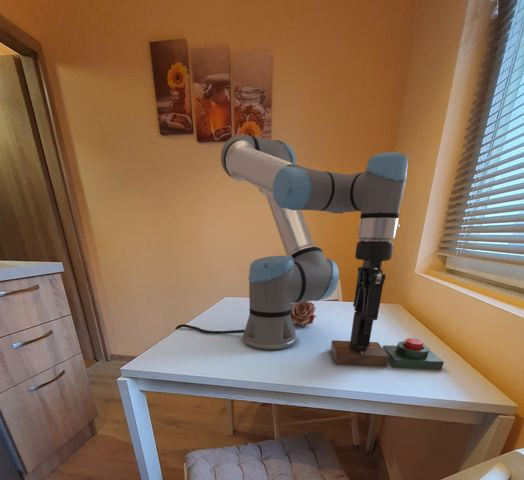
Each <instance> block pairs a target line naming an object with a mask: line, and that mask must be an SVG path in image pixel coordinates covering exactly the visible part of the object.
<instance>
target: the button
mask: <svg viewBox="0 0 524 480" xmlns="http://www.w3.org/2000/svg"><path fill="white" fill-rule="evenodd" d="M404 341H405V344H404V347H406V348H408V349H413V350H422V348H423V345H425V344H424V343H425V342H424V341H422V340H421V339H418V338H409V337H408V338H406V339H404Z"/></svg>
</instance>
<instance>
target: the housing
mask: <svg viewBox="0 0 524 480" xmlns="http://www.w3.org/2000/svg"><path fill="white" fill-rule="evenodd" d="M404 344H405V340H402V341H399V342H397V345H385V344H384V345H383V346H382V348H383V349H384V351H385V352H386V353H387V354H388V356H389V358H388V363H389V365H391V367H392V368H393V369H412V370H413V369H414V370H429V371H430V370H431V371H432V370H434V371H442V370H443V366H444V363H445V361H444V360H443V359H442V358H440V357H439V356H438V355H437V354H435V353H434V352H433V351H432V350H431V349H430V347H428V346H427V345H425V344H423V348H422V350H413V349H408V348H406V347H404Z"/></svg>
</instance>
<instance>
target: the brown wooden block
mask: <svg viewBox="0 0 524 480" xmlns="http://www.w3.org/2000/svg"><path fill="white" fill-rule="evenodd" d="M330 352H331V356H332V359H333V361H334V364H335V366H349V367H350V366H351V367H369V368H370V367H371V368H372V367H373V368H374V367H375V368H387V367H388V363H389V362H388V358H389V356H388V354H387V353H386V352H385V351H384V349H383V346H381V344H380V343H379V342H378V341H370V342H369V347H368V349H367V350H365V351H358V350H354V349H351V348H350V340H335V339H333V340H331V344H330Z"/></svg>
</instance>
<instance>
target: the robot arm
mask: <svg viewBox="0 0 524 480" xmlns="http://www.w3.org/2000/svg"><path fill="white" fill-rule="evenodd" d="M294 151H295V150H294V149H293V148H292V146H291V145H290V144H288V143H287V142H283V141H281V140H279V139H268V138H264V137H259V136H253V135H248V134H238V135H234V136H232V137H230V138H229V139H228V140H226V141H225V143H224V145H223V146H222V148H221V152H220V163H221V167H222V169H223V170H224V172H225V173H226V175H228V176H229V177H230V178H232V179H234V180H235V181H237V182H247V183H249V184H251V185H252V186H254V187H256V188H258V191H259V193H260V194H261V195H262V196H265V197H266V200H267V203H268V205H269V209H270V211H271V215H272V217H273V221H274V222H275V226H276V228H277V232H278V234H279V237H280V241H281V243H282V246H283V249H284V252H285V254H286V255H272V256H271V255H269V256H264V257H260V258H257V259H255V260H253V261H252V262H251V263H250V265H249V271H248V274H249V275H248V289H249V292H248V293H249V294H248V295H249V296H248V297H249V298H248V300H249V301H248V302H249V315H248V319H247V322H246V325H245V329H234V330H233V329H231V330H209V329H202V328H200V327H197V326H194V325H190V324H183V323H181V324H178V325H176V327H175V330H179V329H181V328H188V329H190V330H191V329H192V330H196V331H199V332H200V333H203V334H210V335H211V334H212V335H217V334H218V335H227V334H228V335H229V334H243V343H244V344H245V345H247V346H249V347H250V348H254V349H257V350H263V351H278V350H285V349H288V348H291V347H292V346H294V345H295V344H296V338H297V336H296V330H295V326H294V322H292V319H291V304H292V303H298V302H317V301H321V300H324V299H328V298H329V297H331V296H332V295H333V294H334V293H335V291H336V289H337V287H338V283H339V279H340V273H339V267H338V265H337V263H336V262H335V261H334V260H332V259H331V258H326V257H325V255H324V252H323V249H322V248H321V246H318V245H315V243H314V241H313V238H312V235H311V233H310V230H309V227H308V224H307V222H306V219H305V217H304V214H303V211H317V212H327V213H330V214H340V215H341V214H344V213H352V212H353V213H354V212H360V218H359V224H358V231H357V239H359V241H357V243H356V246H355V254H354V257H355V259H356V260H359V261H363V262H362V265H361V266H358V267H357V277H356V278H357V279H356V283H355V285H356V286H355V293H354V298H353V304H352V306H353V308H354V313H357V312H363V313H362V317H359V320H360V324H359V331H358V337H357V344H356V345H357V346H368V347H369V342H371V335H372V330H373V323H374V321H378V317H379V311H380V304H381V299H382V293H383V287H384V283H385V280H386V273H383V269H382V262H387V261H391V259H392V255H393V251H394V246H395V244H394V242H393V241H392V240H394V239H395V238H396V234H397V229H399V228H400V223H399V218H400V211H401V210H400V209H401V205H402V200H403V196H404V191H405V187H406V183H407V173H408V166H409V158H408V156H407V155H406V153H405V154H404V153H402V152H396V151H394V152H393V151H389V152H382V153H381V152H380V153H377V154H374V155H373V156H371V157H369V159H368V161H367V165H366V168H365V171H361V172H356V173H349V174H347V173H340V172H339V173H338V172H331V171H325V170H323V171H322V170H317V169H311V168H308V167H305V166H301V165H298V164H296V163H297V159H296V154H295V152H294Z"/></svg>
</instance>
